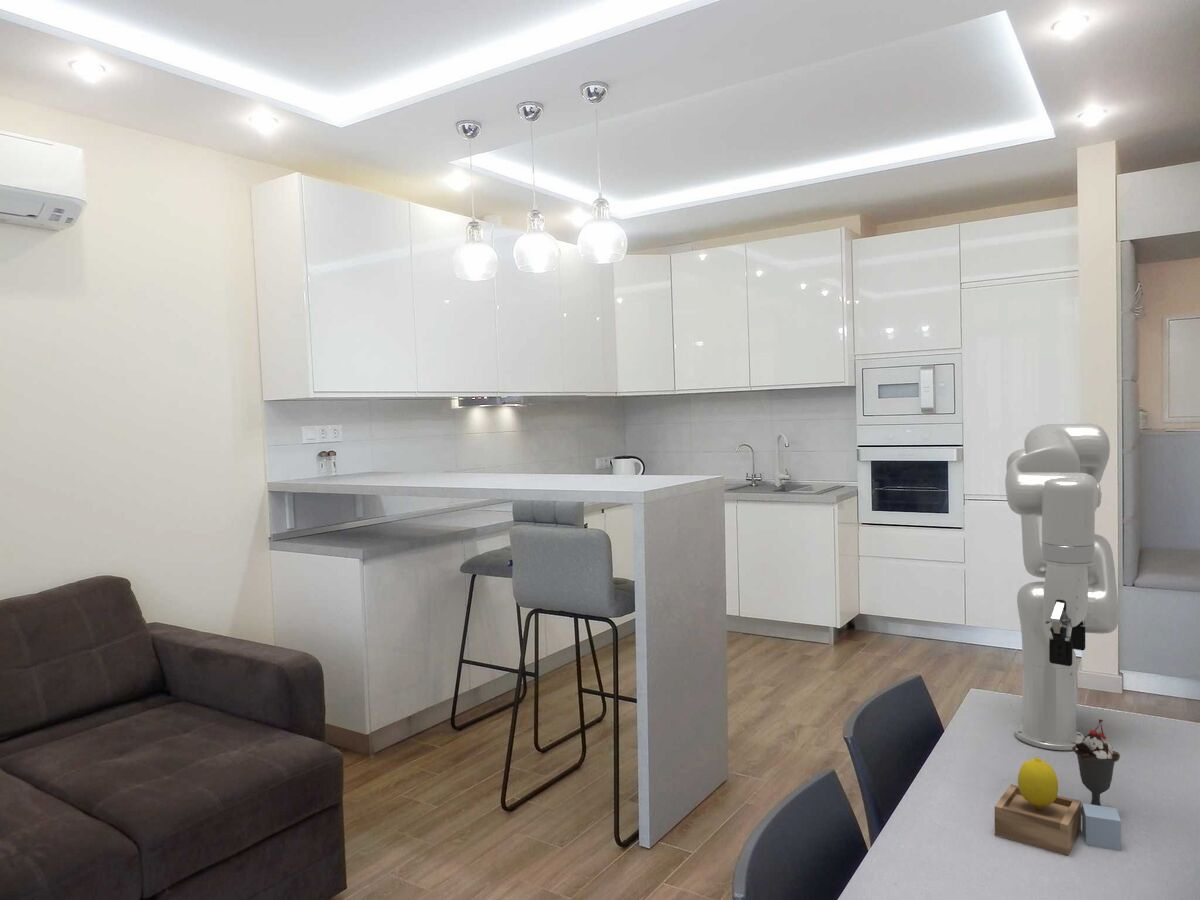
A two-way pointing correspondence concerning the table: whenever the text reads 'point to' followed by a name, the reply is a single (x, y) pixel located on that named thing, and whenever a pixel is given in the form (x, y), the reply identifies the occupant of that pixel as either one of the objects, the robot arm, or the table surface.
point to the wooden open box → (1038, 821)
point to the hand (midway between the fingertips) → (1067, 656)
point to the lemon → (1038, 783)
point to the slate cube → (1101, 826)
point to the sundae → (1096, 763)
